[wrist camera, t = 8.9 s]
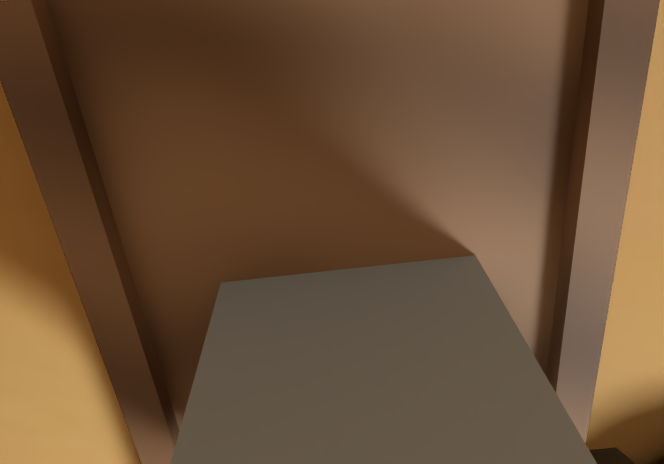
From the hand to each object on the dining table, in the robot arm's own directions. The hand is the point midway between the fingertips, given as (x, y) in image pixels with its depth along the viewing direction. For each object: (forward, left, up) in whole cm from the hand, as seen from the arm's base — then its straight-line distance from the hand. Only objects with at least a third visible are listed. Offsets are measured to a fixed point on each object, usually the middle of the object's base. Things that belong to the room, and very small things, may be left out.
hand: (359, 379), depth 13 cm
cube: (0, 0, 0) cm, 0 cm away
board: (0, 0, -2) cm, 2 cm away
